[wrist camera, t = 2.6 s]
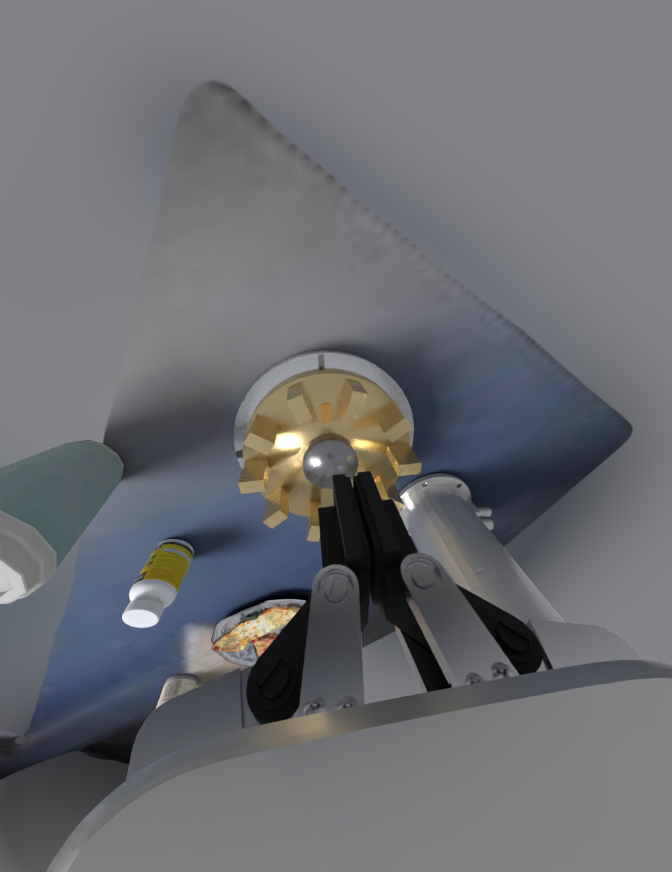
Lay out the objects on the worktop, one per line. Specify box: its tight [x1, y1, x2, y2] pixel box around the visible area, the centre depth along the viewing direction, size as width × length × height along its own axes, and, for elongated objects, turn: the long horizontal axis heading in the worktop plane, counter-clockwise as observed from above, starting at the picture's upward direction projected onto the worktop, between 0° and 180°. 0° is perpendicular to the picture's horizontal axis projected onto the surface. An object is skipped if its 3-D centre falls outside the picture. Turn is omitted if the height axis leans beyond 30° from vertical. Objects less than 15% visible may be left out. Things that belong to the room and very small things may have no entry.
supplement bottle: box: [122, 539, 194, 628], centre depth 35 cm, size 5×5×10 cm
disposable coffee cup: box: [0, 440, 124, 604], centre depth 25 cm, size 11×11×15 cm
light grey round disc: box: [234, 350, 414, 470], centre depth 32 cm, size 22×22×2 cm
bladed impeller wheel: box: [238, 368, 422, 542], centre depth 29 cm, size 19×19×6 cm
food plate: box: [211, 599, 306, 667], centre depth 52 cm, size 25×23×4 cm
